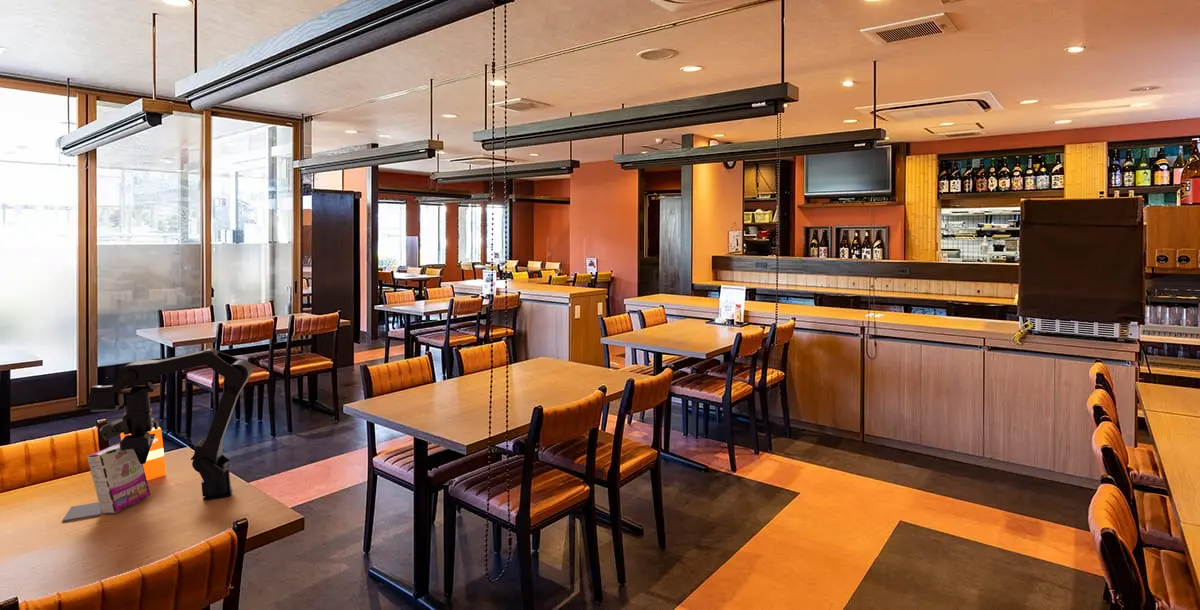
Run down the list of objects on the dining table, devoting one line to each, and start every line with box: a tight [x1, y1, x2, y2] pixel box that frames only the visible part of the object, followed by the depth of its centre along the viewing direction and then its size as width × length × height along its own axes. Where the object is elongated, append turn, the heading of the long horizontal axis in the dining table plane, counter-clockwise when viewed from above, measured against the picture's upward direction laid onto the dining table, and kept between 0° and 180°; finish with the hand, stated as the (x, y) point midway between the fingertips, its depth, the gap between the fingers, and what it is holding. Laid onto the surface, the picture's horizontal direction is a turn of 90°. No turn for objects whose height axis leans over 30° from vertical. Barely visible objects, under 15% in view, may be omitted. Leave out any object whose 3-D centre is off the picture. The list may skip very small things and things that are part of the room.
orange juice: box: [119, 426, 167, 481], centre depth 200 cm, size 8×9×20 cm
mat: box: [61, 501, 103, 523], centre depth 177 cm, size 8×9×1 cm
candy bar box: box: [86, 442, 151, 515], centre depth 179 cm, size 11×5×16 cm, turn 169°
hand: (143, 463), depth 181 cm, fingers closed
